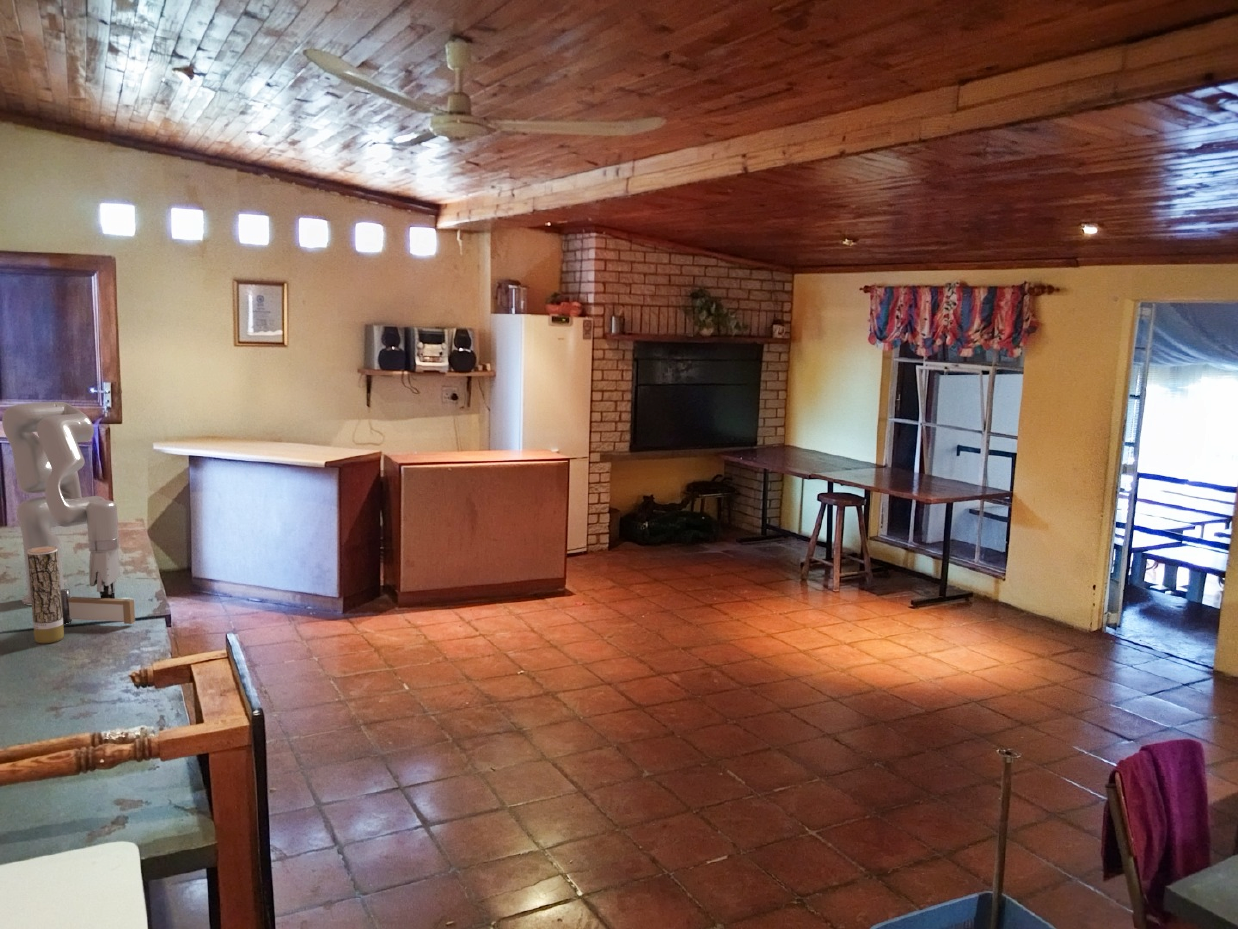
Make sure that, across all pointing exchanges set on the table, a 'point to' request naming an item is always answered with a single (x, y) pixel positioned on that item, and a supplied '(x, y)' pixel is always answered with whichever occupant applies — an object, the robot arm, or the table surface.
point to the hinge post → (65, 605)
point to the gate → (102, 609)
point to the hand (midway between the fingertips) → (108, 606)
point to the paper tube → (45, 594)
